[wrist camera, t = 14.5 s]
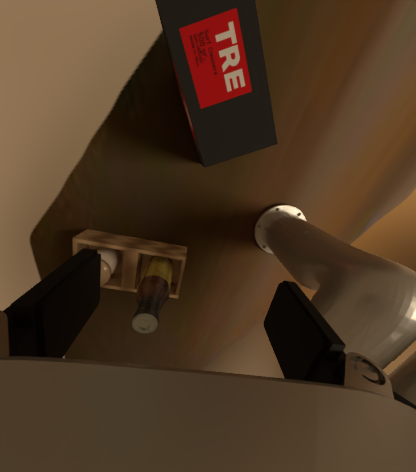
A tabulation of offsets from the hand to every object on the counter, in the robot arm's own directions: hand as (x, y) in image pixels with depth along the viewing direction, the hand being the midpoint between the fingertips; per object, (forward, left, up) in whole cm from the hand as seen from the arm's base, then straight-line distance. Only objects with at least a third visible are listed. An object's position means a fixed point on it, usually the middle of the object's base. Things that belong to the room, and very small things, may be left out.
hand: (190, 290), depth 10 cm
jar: (+17, +19, -36) cm, 44 cm away
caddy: (+11, +19, -36) cm, 43 cm away
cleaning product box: (0, -15, -37) cm, 40 cm away
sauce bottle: (+5, +19, -36) cm, 41 cm away
